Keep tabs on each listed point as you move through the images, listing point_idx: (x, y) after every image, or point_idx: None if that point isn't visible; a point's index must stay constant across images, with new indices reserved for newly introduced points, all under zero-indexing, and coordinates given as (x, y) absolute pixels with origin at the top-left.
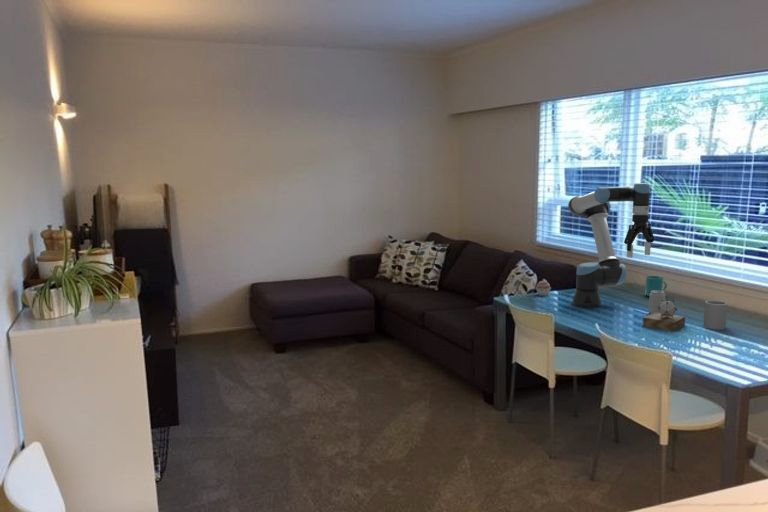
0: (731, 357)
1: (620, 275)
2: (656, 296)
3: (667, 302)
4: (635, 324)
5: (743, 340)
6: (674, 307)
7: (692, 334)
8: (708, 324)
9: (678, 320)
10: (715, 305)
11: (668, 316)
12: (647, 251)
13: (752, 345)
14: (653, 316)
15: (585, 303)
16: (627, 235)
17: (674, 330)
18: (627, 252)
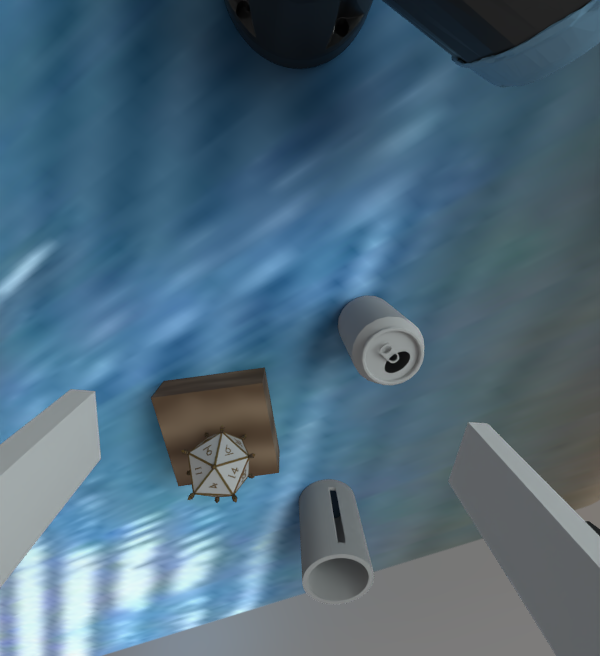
0: (104, 613)
1: (490, 53)
2: (353, 362)
3: (190, 497)
4: (165, 352)
5: (257, 580)
6: (216, 496)
7: (207, 501)
8: (299, 510)
9: None
10: (304, 587)
11: None
12: (483, 500)
13: (232, 602)
14: (195, 411)
15: (229, 4)
16: None
17: None
18: (11, 442)
